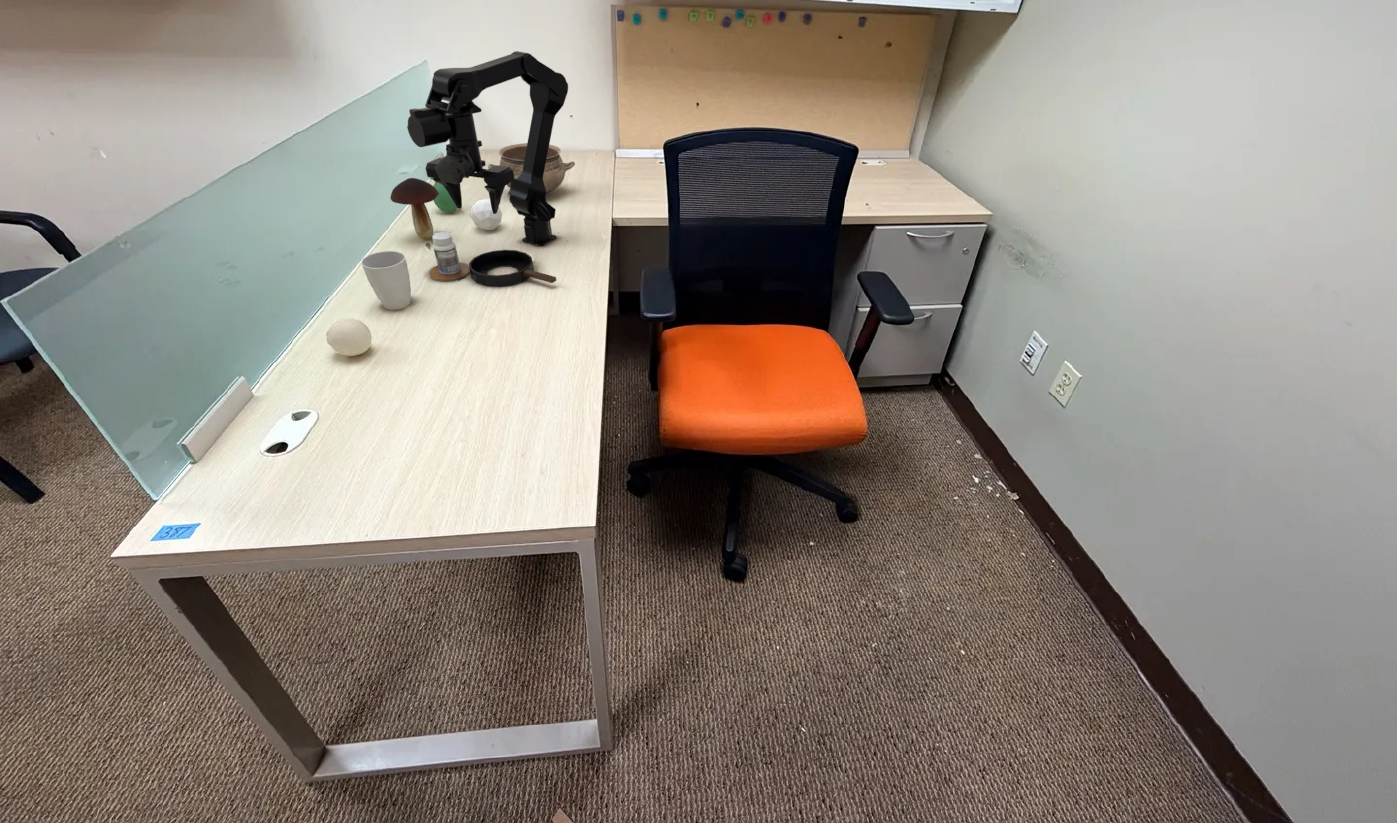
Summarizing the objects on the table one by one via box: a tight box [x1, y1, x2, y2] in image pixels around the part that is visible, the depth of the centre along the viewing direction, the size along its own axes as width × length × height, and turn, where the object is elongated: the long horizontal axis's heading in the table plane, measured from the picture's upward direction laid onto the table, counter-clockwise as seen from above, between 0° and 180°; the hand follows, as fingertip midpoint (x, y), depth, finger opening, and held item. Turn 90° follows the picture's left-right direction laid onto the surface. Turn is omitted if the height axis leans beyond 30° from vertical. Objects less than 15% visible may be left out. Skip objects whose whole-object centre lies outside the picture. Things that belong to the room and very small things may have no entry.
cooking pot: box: [487, 142, 576, 196], centre depth 177 cm, size 25×19×12 cm
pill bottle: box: [431, 231, 461, 274], centre depth 135 cm, size 5×5×8 cm
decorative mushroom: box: [389, 177, 439, 240], centre depth 148 cm, size 11×11×15 cm
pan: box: [468, 249, 557, 288], centre depth 137 cm, size 14×22×3 cm, turn 63°
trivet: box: [428, 262, 471, 282], centre depth 138 cm, size 9×9×1 cm
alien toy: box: [429, 177, 458, 213], centre depth 164 cm, size 7×8×10 cm
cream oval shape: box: [325, 317, 373, 357], centre depth 109 cm, size 7×7×7 cm
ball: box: [470, 198, 503, 231], centre depth 156 cm, size 8×8×8 cm
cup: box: [360, 250, 412, 311], centre depth 123 cm, size 8×8×10 cm
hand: (477, 210), depth 136 cm, fingers open, 9 cm apart
